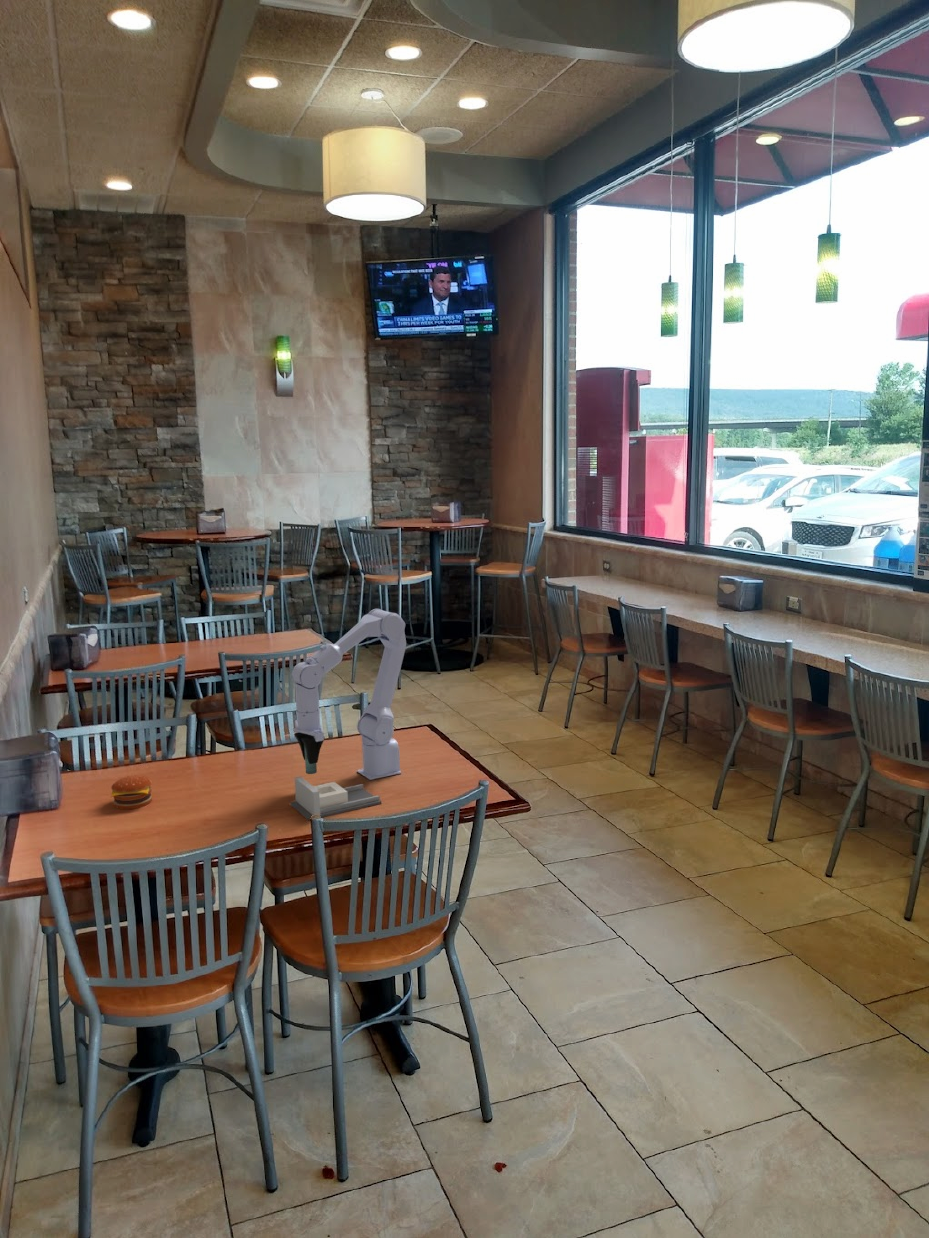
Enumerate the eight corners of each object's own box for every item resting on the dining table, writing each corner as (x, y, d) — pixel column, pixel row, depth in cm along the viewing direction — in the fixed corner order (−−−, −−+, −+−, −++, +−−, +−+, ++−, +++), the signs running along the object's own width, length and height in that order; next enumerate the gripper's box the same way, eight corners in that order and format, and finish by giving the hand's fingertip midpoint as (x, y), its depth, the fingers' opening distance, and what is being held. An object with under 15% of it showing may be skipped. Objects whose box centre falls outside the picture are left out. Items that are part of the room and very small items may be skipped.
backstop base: (360, 788, 235) (359, 764, 234) (381, 803, 225) (380, 777, 224) (290, 804, 226) (288, 778, 224) (308, 820, 215) (307, 793, 214)
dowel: (314, 769, 237) (312, 739, 235) (318, 772, 235) (316, 742, 233) (304, 771, 235) (302, 741, 234) (308, 774, 233) (306, 744, 232)
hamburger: (152, 807, 225) (149, 781, 224) (110, 812, 223) (108, 786, 222) (154, 793, 234) (152, 769, 233) (115, 798, 232) (112, 773, 231)
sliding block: (334, 795, 229) (334, 781, 229) (348, 805, 223) (347, 791, 222) (304, 801, 225) (303, 788, 225) (317, 812, 219) (316, 798, 218)
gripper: (282, 705, 236) (285, 756, 239) (303, 719, 224) (306, 772, 226) (308, 701, 240) (311, 751, 242) (330, 714, 227) (333, 766, 230)
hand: (310, 761), depth 234 cm, fingers closed on dowel, 3 cm apart
